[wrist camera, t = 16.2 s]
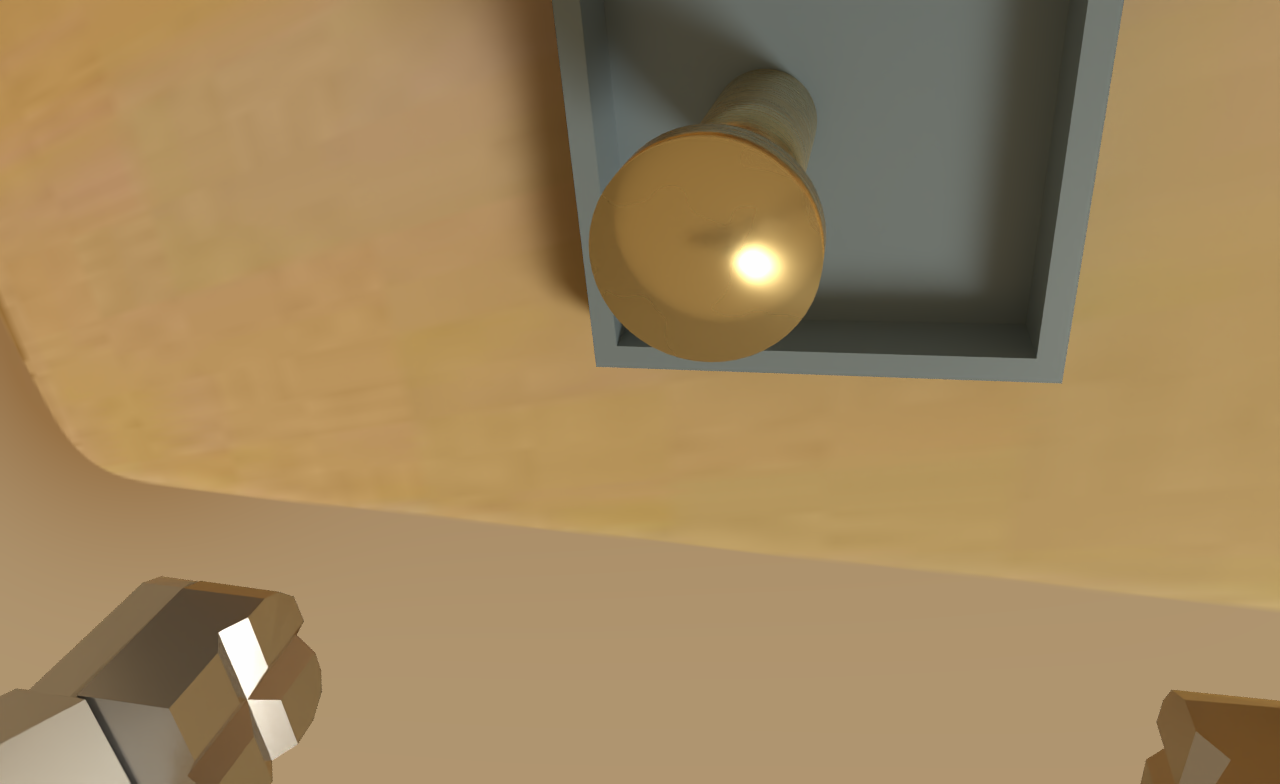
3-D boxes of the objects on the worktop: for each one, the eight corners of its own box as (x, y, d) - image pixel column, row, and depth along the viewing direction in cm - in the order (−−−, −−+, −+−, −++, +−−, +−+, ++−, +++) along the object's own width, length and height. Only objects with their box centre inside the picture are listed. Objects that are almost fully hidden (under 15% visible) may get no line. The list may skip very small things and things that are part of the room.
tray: (1125, -187, 22) (1155, -194, 20) (1046, 339, 30) (1061, 383, 27) (570, -128, 26) (536, -129, 24) (618, 328, 33) (596, 366, 31)
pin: (846, 35, 26) (824, 134, 16) (842, 197, 28) (821, 365, 19) (682, 44, 27) (575, 142, 18) (692, 199, 29) (601, 358, 20)
